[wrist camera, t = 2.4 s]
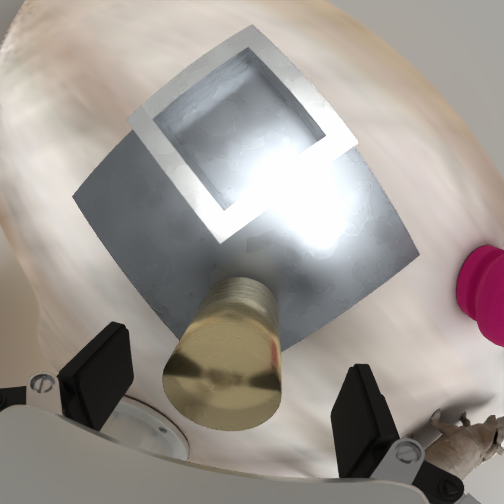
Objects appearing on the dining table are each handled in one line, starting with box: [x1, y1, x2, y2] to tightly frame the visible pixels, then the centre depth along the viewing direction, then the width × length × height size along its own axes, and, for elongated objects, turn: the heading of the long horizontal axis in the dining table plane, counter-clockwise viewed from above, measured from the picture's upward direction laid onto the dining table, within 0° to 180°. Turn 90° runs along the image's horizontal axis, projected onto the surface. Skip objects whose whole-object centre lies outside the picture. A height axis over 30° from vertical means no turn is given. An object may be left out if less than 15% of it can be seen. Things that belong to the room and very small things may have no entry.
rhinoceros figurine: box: [402, 409, 504, 481], centre depth 18 cm, size 8×14×15 cm
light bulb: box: [162, 277, 281, 431], centre depth 14 cm, size 5×5×8 cm
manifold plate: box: [72, 25, 420, 352], centre depth 17 cm, size 17×18×4 cm
